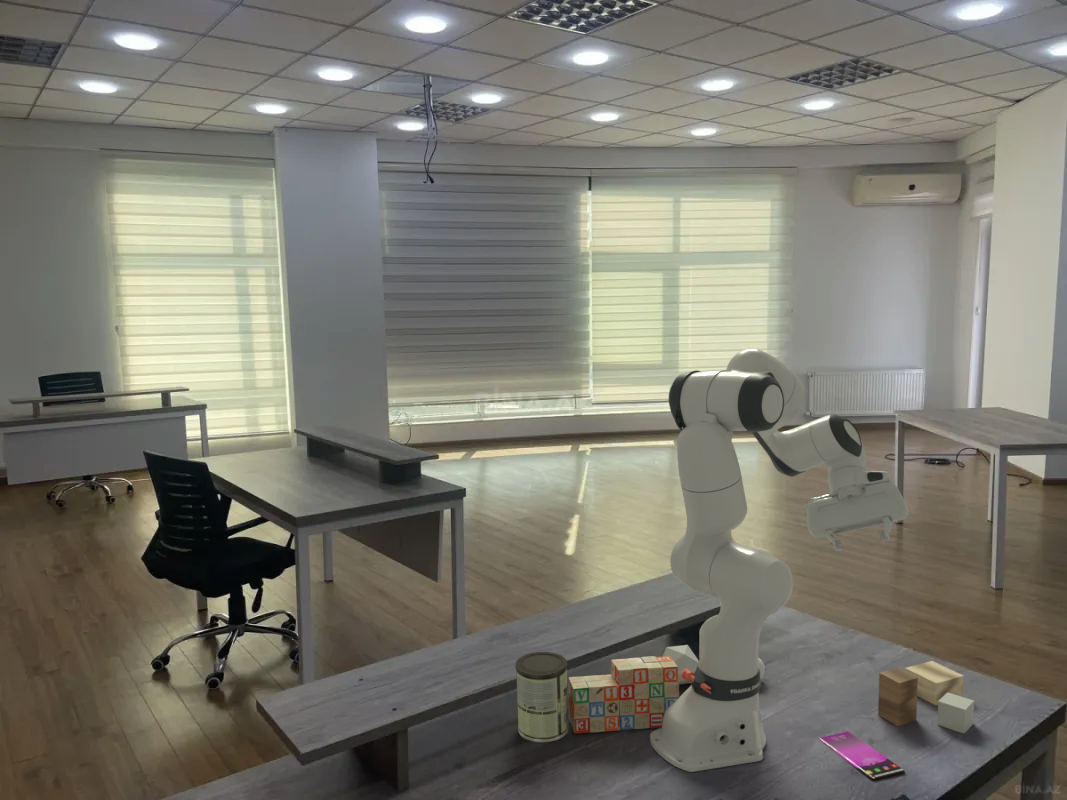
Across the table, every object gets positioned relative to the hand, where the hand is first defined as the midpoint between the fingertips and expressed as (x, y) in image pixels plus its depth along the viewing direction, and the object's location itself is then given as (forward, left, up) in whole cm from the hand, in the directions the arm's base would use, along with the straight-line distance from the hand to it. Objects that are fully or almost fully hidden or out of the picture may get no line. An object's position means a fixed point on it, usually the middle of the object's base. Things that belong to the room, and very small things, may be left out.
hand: (861, 545), depth 169 cm
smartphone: (-15, -15, -34) cm, 41 cm away
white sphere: (-13, +18, -34) cm, 41 cm away
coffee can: (-64, +19, -34) cm, 75 cm away
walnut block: (+2, -9, -34) cm, 35 cm away
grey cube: (+10, -16, -34) cm, 39 cm away
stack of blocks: (-49, +14, -34) cm, 61 cm away
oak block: (+17, -5, -34) cm, 38 cm away
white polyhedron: (-28, +24, -34) cm, 51 cm away
